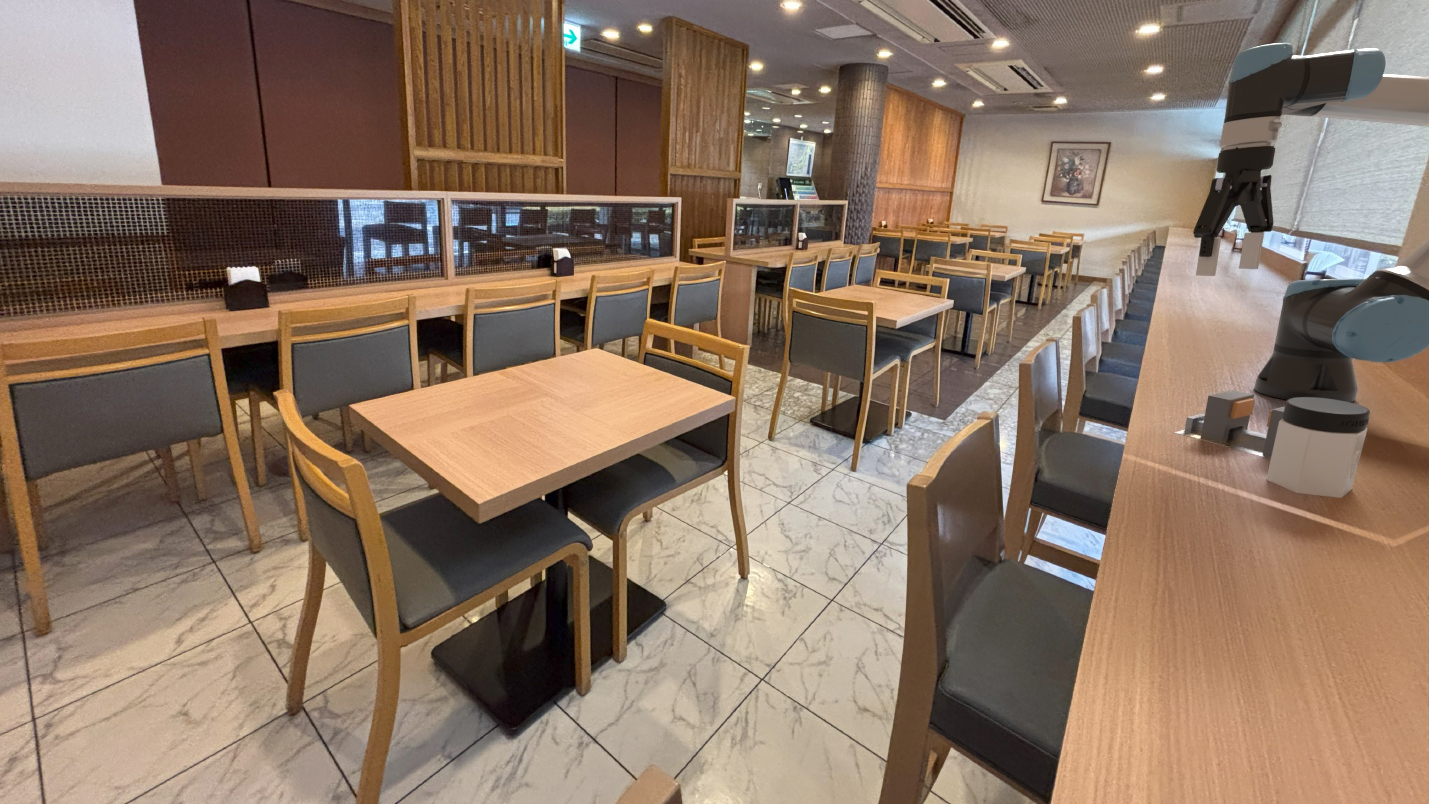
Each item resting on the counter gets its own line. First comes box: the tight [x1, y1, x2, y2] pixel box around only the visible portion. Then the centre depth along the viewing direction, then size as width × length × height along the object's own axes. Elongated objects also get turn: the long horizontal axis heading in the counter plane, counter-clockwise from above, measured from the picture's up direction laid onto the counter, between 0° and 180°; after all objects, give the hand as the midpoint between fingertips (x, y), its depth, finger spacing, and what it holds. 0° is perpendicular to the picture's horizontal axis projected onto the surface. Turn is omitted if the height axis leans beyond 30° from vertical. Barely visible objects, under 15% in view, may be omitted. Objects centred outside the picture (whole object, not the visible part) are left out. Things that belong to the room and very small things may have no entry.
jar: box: [1266, 397, 1371, 499], centre depth 84 cm, size 9×8×12 cm
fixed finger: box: [1263, 405, 1285, 456], centre depth 96 cm, size 4×6×7 cm, turn 113°
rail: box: [1173, 413, 1271, 460], centre depth 100 cm, size 9×20×3 cm, turn 23°
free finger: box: [1201, 389, 1256, 442], centre depth 103 cm, size 4×6×7 cm, turn 113°
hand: (1227, 272), depth 113 cm, fingers open, 13 cm apart
